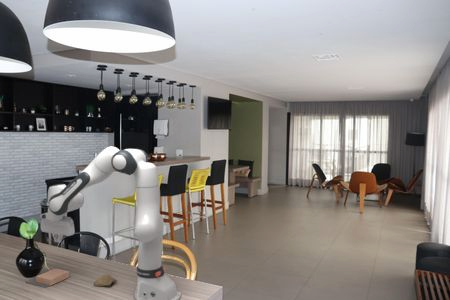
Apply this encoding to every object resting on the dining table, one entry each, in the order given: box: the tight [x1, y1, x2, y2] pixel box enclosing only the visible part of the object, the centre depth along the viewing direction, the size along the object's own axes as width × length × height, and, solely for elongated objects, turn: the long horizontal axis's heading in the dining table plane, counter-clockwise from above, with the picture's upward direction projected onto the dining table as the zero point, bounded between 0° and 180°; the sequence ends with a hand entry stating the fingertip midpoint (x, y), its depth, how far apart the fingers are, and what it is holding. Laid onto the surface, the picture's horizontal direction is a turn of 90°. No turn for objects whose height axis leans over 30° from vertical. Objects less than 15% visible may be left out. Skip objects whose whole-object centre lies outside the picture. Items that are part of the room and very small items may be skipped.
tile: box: [35, 268, 70, 287], centre depth 187 cm, size 3×12×10 cm
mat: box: [25, 274, 71, 289], centre depth 188 cm, size 14×16×1 cm
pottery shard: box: [93, 274, 117, 287], centre depth 184 cm, size 11×4×10 cm
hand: (57, 242), depth 185 cm, fingers closed
